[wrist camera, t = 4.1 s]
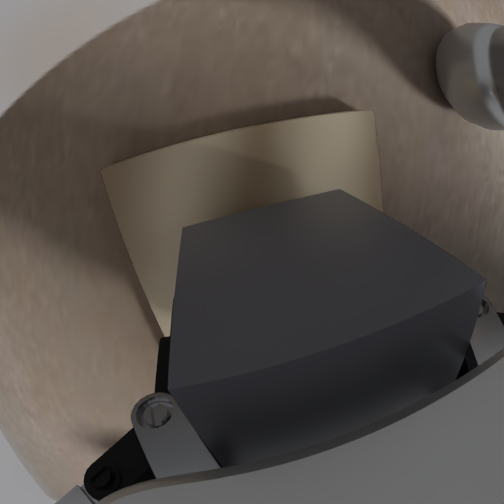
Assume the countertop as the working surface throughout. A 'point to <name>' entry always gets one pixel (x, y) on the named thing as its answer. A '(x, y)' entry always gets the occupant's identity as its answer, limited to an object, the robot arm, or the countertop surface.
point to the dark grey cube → (311, 323)
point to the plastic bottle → (474, 72)
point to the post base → (234, 184)
